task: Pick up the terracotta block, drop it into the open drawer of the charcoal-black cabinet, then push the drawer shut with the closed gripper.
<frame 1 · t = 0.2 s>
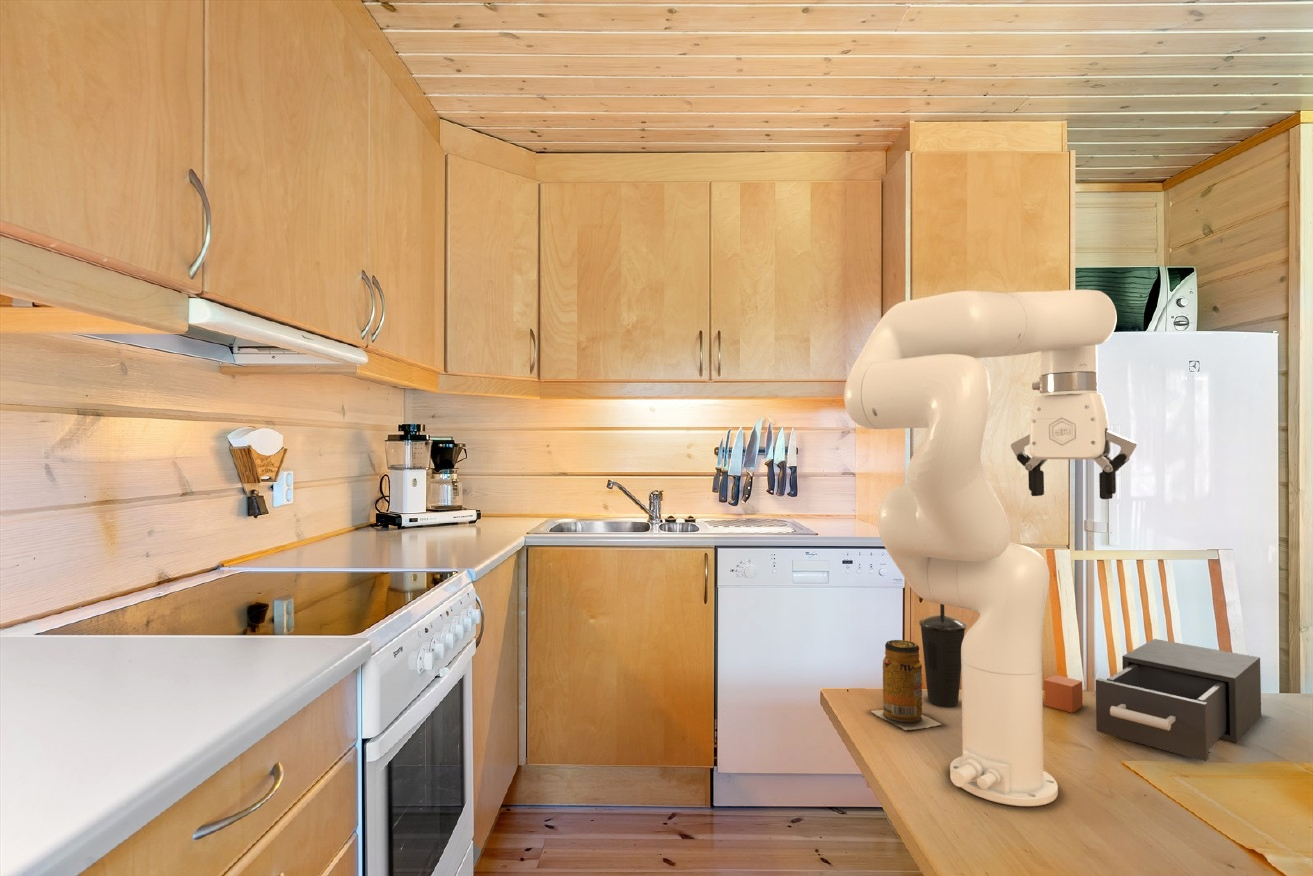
hand: (1070, 497, 106), 36 cm above the table, tool pointing down, fingers open, 9 cm apart
drawer: (1160, 709, 103), point 5 cm above the table, slide at 12.5 cm
block: (1063, 706, 117), on the table
condiment: (905, 720, 112), on the table
cabinet: (1192, 715, 113), on the table
drinking cup: (943, 703, 119), on the table
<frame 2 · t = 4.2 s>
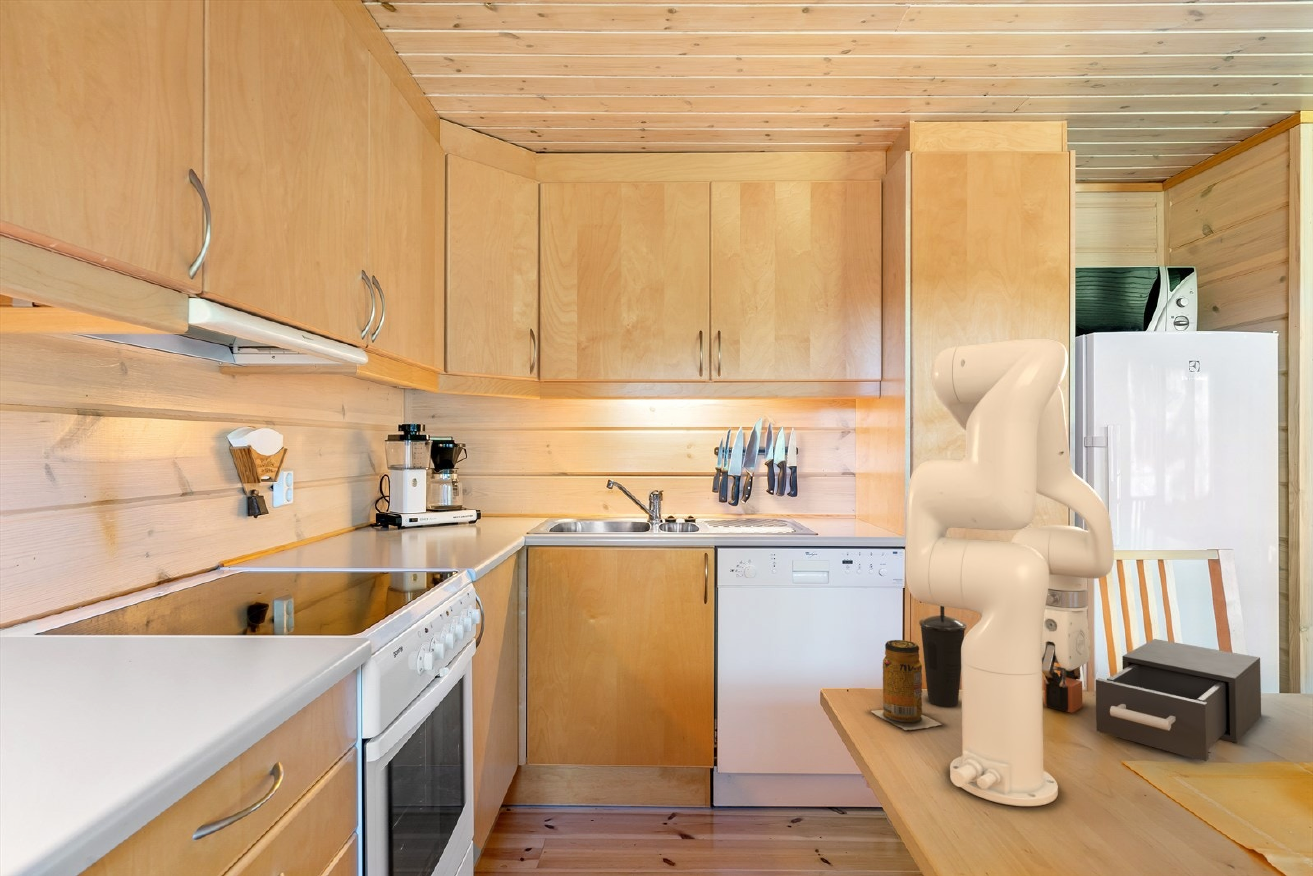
hand: (1063, 704, 117), 0 cm above the table, tool pointing down, fingers closed on block, 4 cm apart
block: (1063, 706, 117), on the table, touching gripper
everything else where it was.
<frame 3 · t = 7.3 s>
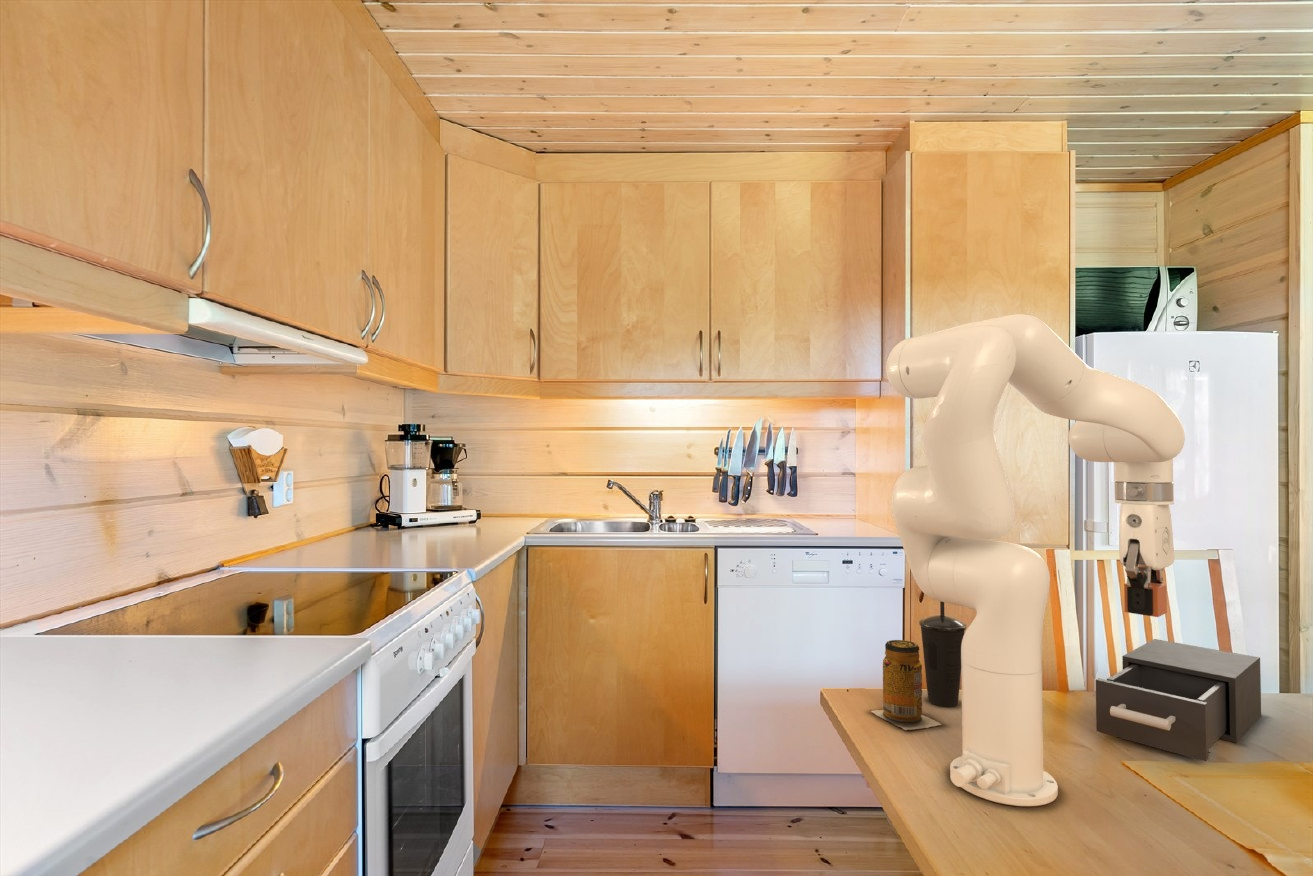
hand: (1145, 610, 107), 19 cm above the table, tool pointing down, fingers closed on block, 4 cm apart
block: (1145, 612, 107), point 18 cm above the table, touching gripper
everything else where it was.
when the fingers open (4 cm above the table, at t = 10.8 s): block drops 2 cm, resting on drawer.
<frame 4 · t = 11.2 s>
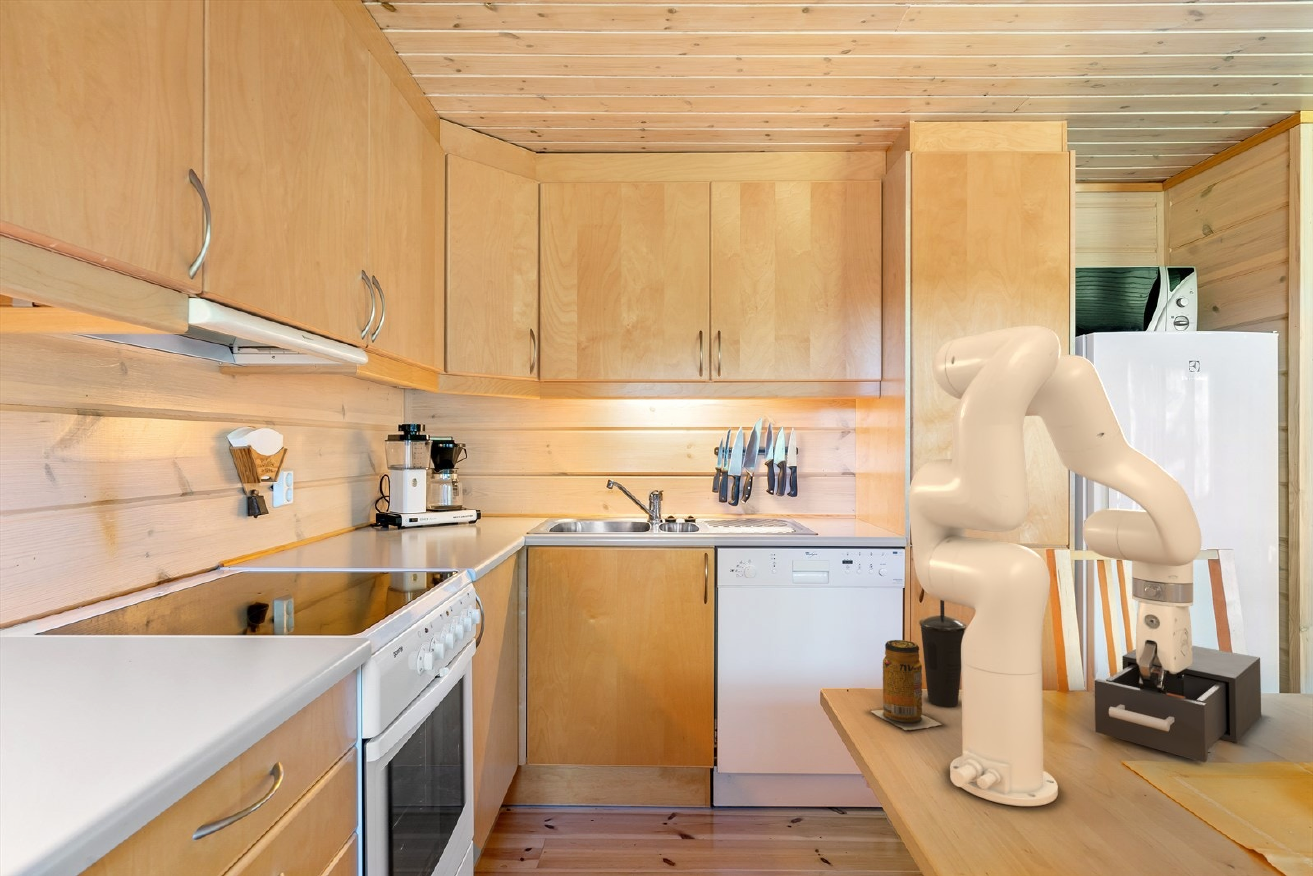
hand: (1162, 708, 104), 5 cm above the table, tool pointing down, fingers open, 7 cm apart
drawer: (1159, 710, 103), point 5 cm above the table, slide at 13.0 cm, touching block
block: (1164, 725, 104), point 2 cm above the table, touching drawer
everything else where it was.
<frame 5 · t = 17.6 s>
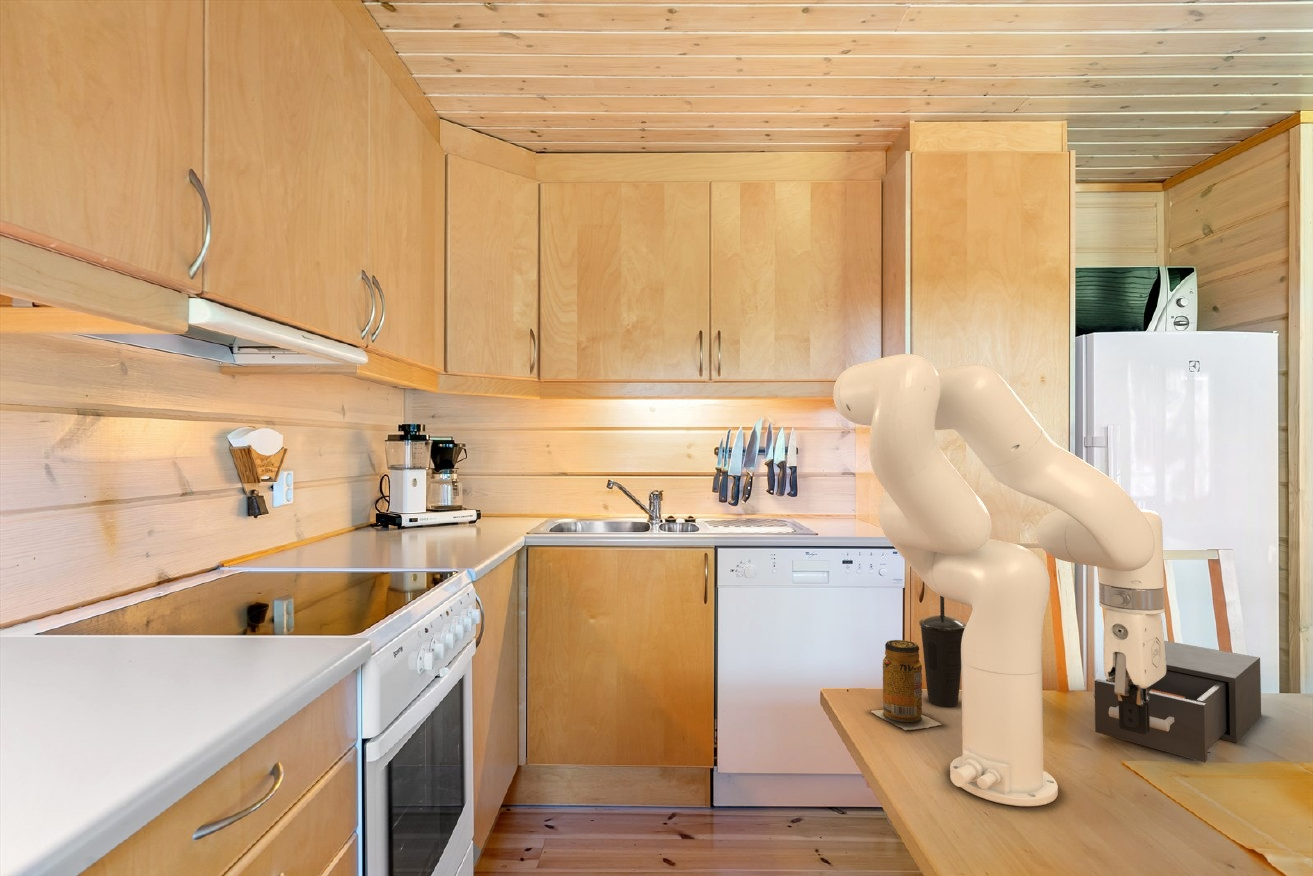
hand: (1134, 730, 95), 5 cm above the table, tool pointing down, fingers closed
drawer: (1159, 710, 103), point 5 cm above the table, slide at 13.0 cm, touching block, gripper
everything else where it was.
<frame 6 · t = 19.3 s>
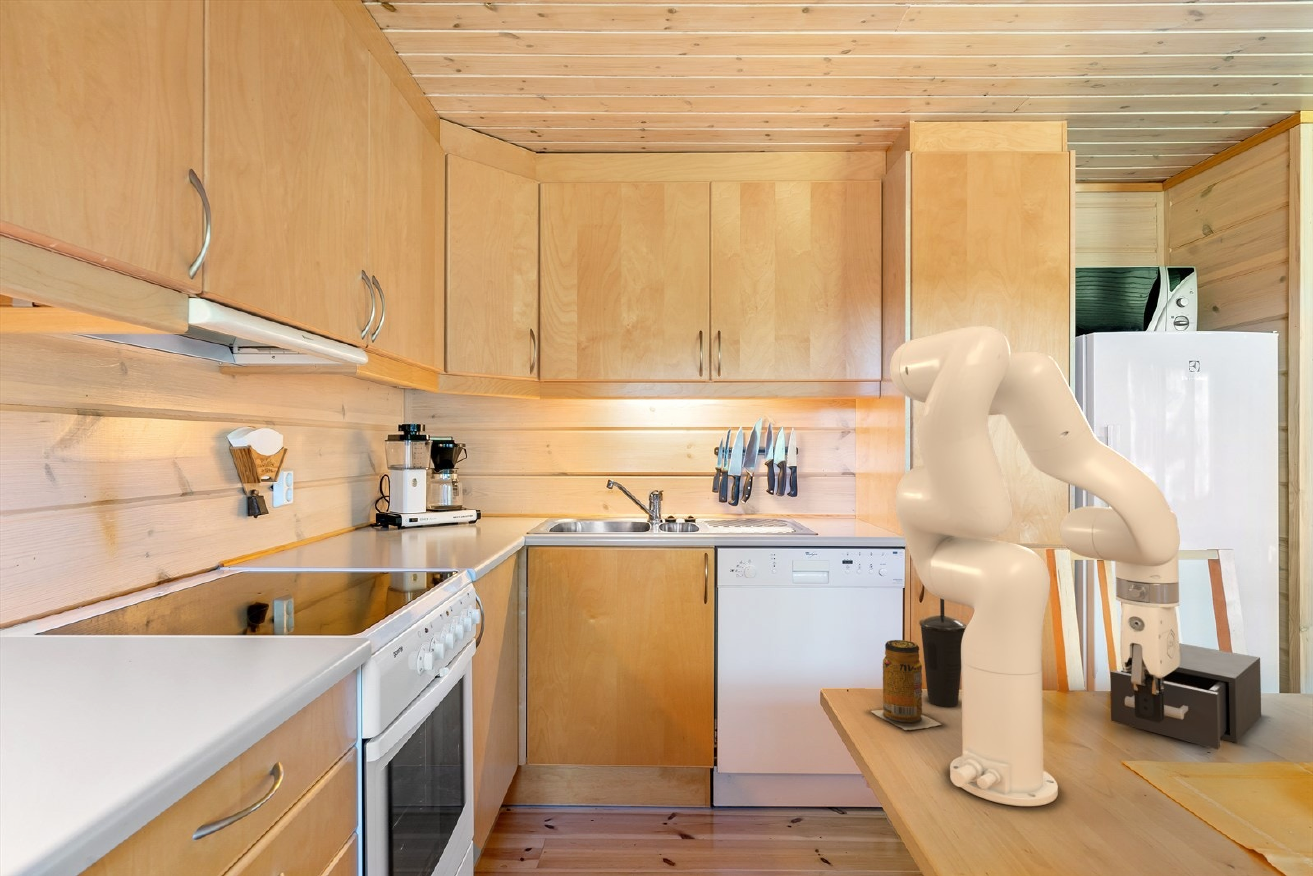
hand: (1149, 718, 100), 5 cm above the table, tool pointing down, fingers closed
drawer: (1172, 700, 107), point 5 cm above the table, slide at 6.3 cm, touching block, gripper
block: (1177, 714, 108), point 2 cm above the table, touching drawer
everything else where it was.
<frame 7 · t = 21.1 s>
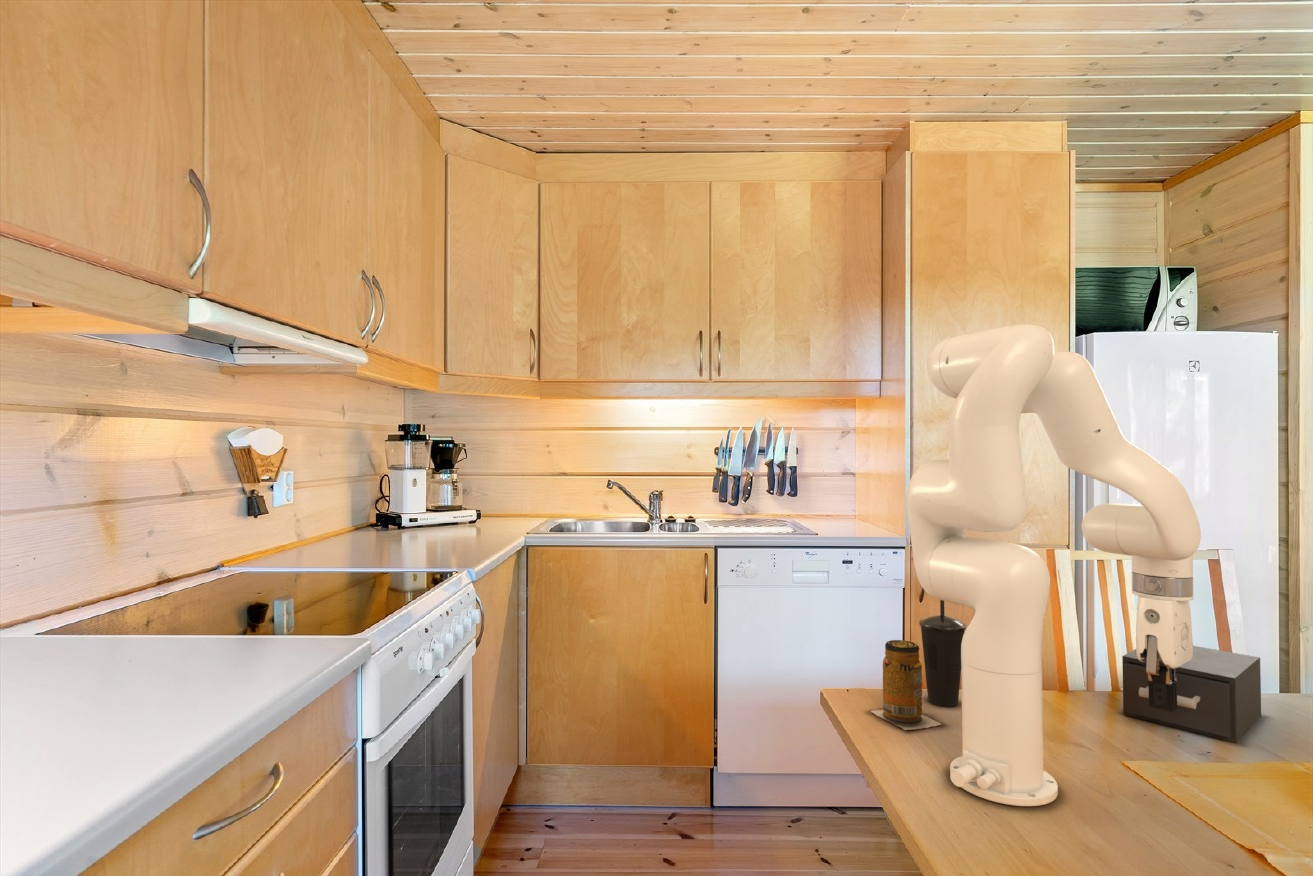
hand: (1162, 708, 104), 5 cm above the table, tool pointing down, fingers closed
drawer: (1184, 691, 111), point 5 cm above the table, slide at 0.0 cm, touching block, cabinet, gripper
block: (1188, 705, 112), point 2 cm above the table, touching drawer
everything else where it was.
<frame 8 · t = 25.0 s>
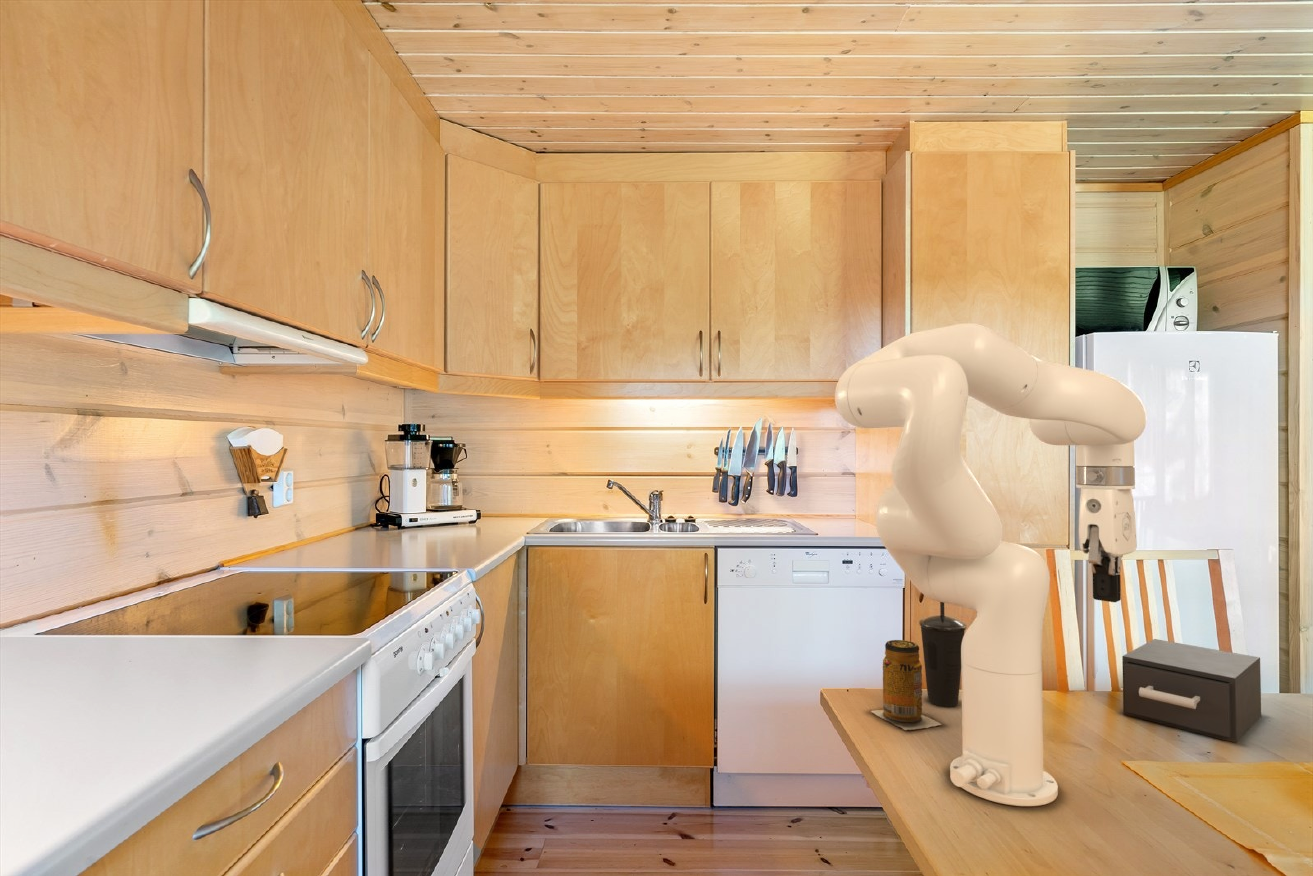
hand: (1106, 600, 104), 21 cm above the table, tool pointing down, fingers closed
drawer: (1184, 691, 111), point 5 cm above the table, slide at 0.0 cm, touching block, cabinet
everything else where it was.
at the end: block inside the target area in the cabinet (1.6 cm from its centre), point 2.0 cm above the cabinet's base; drawer slide at 0.0 cm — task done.
